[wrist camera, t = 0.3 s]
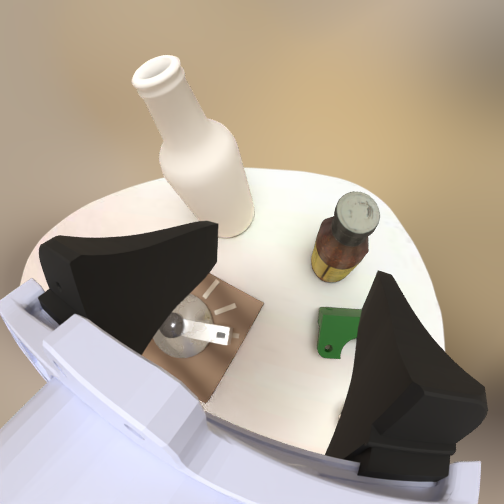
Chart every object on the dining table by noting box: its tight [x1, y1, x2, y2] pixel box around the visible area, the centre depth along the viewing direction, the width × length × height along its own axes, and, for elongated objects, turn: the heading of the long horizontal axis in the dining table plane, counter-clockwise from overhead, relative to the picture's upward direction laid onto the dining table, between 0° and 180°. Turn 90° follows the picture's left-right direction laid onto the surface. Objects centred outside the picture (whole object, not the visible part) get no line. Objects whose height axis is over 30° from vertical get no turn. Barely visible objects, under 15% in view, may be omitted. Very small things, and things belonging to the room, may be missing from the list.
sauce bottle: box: [311, 192, 380, 282], centre depth 31 cm, size 7×6×20 cm
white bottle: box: [132, 55, 254, 238], centre depth 30 cm, size 9×9×30 cm
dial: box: [153, 294, 233, 358], centre depth 37 cm, size 13×10×4 cm
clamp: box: [317, 307, 362, 359], centre depth 35 cm, size 12×6×9 cm, turn 76°
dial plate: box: [142, 273, 264, 403], centre depth 40 cm, size 18×18×2 cm
